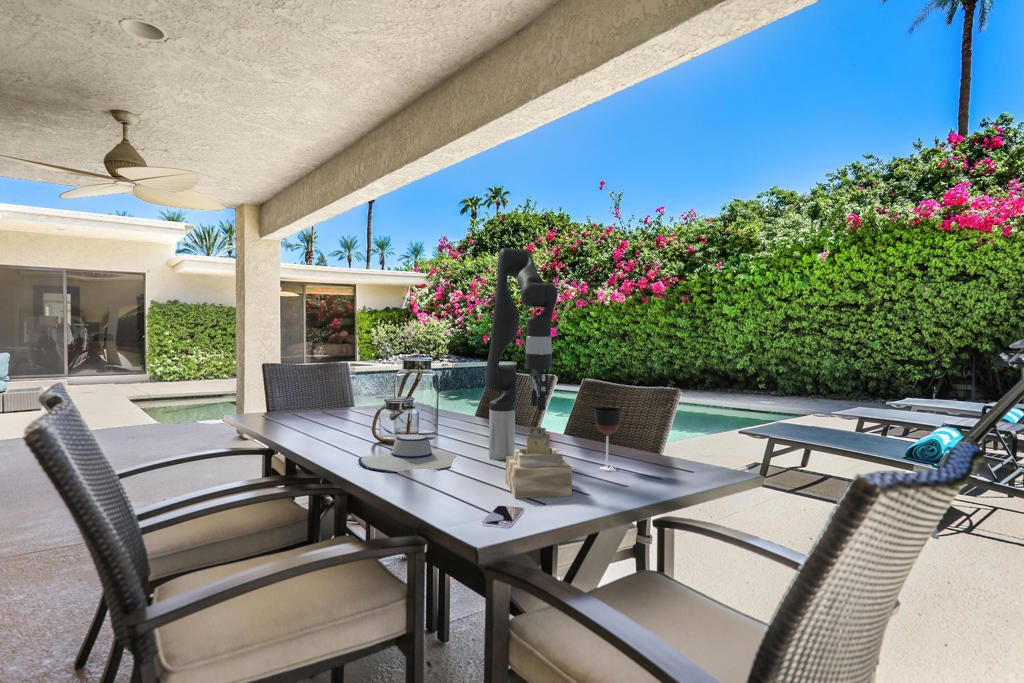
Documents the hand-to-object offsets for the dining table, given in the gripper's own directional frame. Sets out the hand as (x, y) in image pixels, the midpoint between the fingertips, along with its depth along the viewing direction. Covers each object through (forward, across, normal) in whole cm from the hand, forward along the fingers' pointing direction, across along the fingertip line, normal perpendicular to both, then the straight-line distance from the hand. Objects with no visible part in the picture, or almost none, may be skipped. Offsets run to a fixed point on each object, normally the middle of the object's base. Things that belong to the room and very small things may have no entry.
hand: (538, 408), depth 169 cm
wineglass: (+24, -20, +28) cm, 42 cm away
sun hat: (+25, -42, -36) cm, 61 cm away
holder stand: (+24, 0, 0) cm, 24 cm away
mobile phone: (+24, +23, -14) cm, 36 cm away
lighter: (+16, 0, 0) cm, 16 cm away
